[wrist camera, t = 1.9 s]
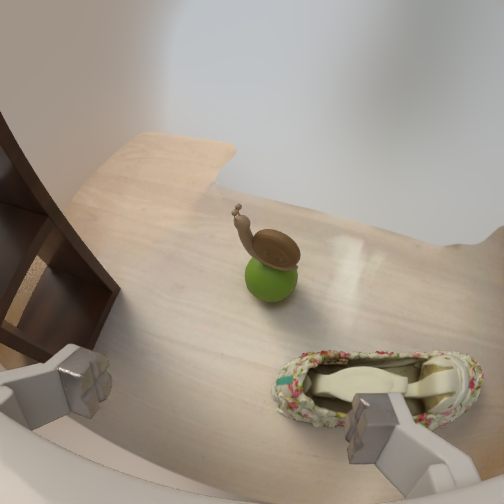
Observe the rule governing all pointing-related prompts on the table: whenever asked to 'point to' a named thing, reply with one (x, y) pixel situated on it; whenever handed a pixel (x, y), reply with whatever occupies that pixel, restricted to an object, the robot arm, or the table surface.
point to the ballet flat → (378, 384)
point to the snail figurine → (268, 260)
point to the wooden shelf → (58, 265)
